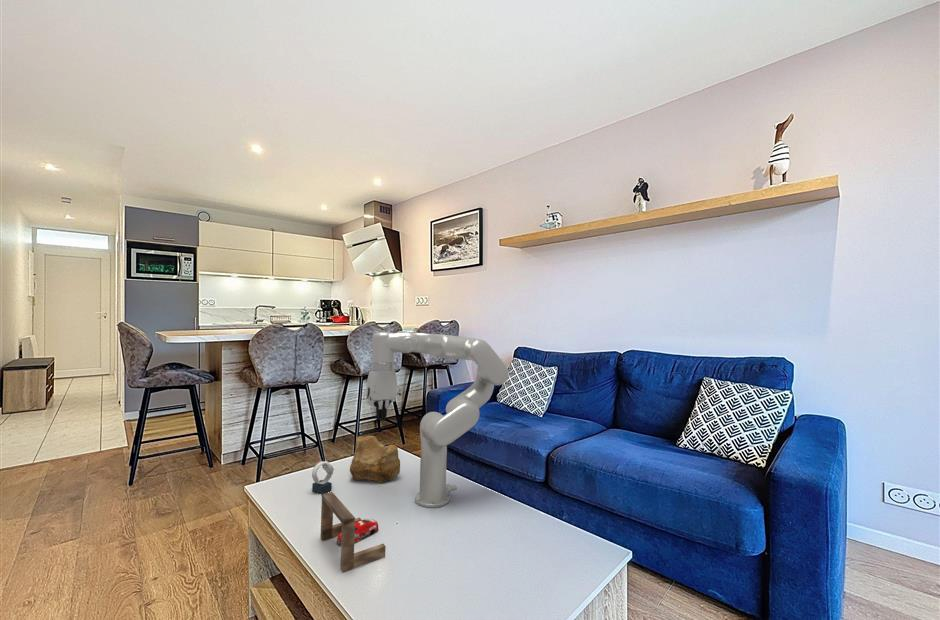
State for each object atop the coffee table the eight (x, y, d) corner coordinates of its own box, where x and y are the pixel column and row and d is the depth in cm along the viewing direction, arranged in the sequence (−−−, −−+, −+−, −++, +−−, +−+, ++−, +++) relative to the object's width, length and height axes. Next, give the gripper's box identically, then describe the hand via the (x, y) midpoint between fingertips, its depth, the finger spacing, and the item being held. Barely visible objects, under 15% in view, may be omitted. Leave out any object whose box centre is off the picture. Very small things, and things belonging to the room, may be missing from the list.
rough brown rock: (334, 478, 165) (334, 443, 164) (366, 463, 179) (365, 430, 178) (373, 495, 152) (372, 457, 151) (403, 478, 166) (403, 442, 165)
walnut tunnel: (359, 527, 126) (360, 484, 126) (385, 556, 111) (386, 508, 111) (320, 538, 119) (321, 494, 119) (342, 572, 103) (343, 520, 104)
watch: (335, 489, 153) (336, 460, 153) (317, 497, 146) (318, 466, 146) (325, 486, 156) (326, 457, 156) (307, 493, 149) (308, 463, 149)
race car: (343, 550, 114) (343, 536, 114) (333, 543, 117) (333, 529, 117) (381, 532, 124) (381, 519, 124) (370, 526, 127) (371, 513, 127)
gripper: (396, 364, 148) (395, 414, 147) (358, 367, 138) (356, 420, 138) (406, 367, 142) (405, 418, 142) (367, 369, 132) (366, 425, 132)
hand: (381, 419), depth 140 cm, fingers closed
